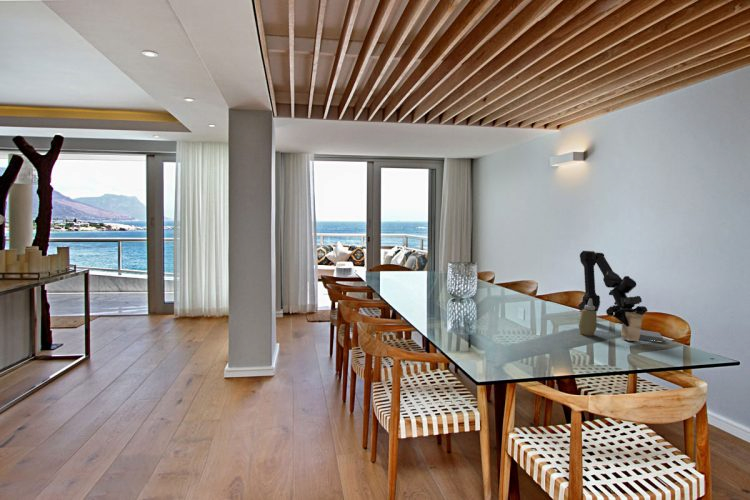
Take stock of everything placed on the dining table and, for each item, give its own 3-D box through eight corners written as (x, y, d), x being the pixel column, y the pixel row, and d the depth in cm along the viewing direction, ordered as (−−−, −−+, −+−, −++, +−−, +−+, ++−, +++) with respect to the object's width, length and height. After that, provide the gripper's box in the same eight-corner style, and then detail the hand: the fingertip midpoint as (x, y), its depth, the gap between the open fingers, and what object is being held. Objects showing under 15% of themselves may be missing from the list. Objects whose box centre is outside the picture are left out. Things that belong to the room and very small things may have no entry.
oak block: (620, 337, 219) (624, 312, 218) (630, 337, 220) (634, 312, 219) (628, 340, 214) (632, 315, 213) (639, 340, 215) (642, 315, 213)
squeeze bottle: (595, 333, 225) (599, 298, 223) (595, 337, 218) (600, 301, 216) (577, 330, 229) (581, 296, 227) (577, 334, 222) (581, 298, 220)
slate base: (636, 339, 221) (637, 334, 221) (633, 333, 231) (634, 328, 231) (662, 343, 217) (663, 338, 216) (658, 337, 227) (659, 332, 226)
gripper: (613, 289, 217) (626, 317, 207) (647, 290, 220) (662, 318, 210) (600, 301, 225) (612, 329, 216) (633, 302, 228) (647, 329, 219)
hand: (633, 326), depth 215 cm, fingers closed on oak block, 5 cm apart
